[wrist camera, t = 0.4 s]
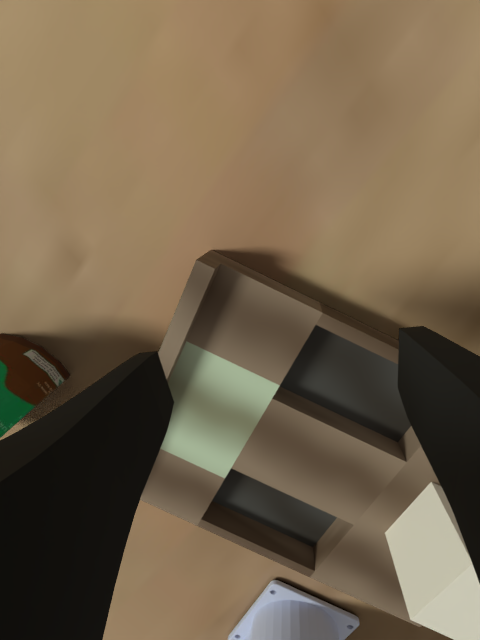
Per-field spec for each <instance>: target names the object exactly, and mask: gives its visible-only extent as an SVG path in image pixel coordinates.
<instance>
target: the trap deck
mask: <svg viewBox="0 0 480 640" xmlns="http://www.w3.org/2000/svg"><path fill="white" fill-rule="evenodd" d="M398 354H399V341H398V340H396V339H394V338H392V337H390V336H388V335H386V334H384V333H382V332H380V331H378V330H376V329H374V328H372V327H370V326H367V325H365V324H363V323H361V322H359V321H357V320H355V319H353V318H351V317H349V316H347V315H345V314H343V313H341V312H339V311H337V310H334V309H332V308H330V307H328V306H326V305H324V304H322V303H320V302H318V301H316V300H314V299H312V298H310V297H308V296H306V295H304V294H301V293H299V292H297V291H295V290H293V289H291V288H289V287H287V286H285V285H283V284H281V283H279V282H277V281H275V280H273V279H271V278H268V277H266V276H264V275H262V274H260V273H258V272H256V271H254V270H252V269H250V268H248V267H246V266H244V265H242V264H240V263H238V262H235V261H233V260H231V259H229V258H227V257H225V256H223V255H221V254H219V253H217V252H215V251H213V250H210V251H209V252H207V253H206V254H204V255H203V256H201V257H200V258H198V259H197V260H196V262H195V265H194V267H193V269H192V272H191V274H190V277H189V279H188V282H187V284H186V286H185V289H184V291H183V294H182V296H181V299H180V301H179V304H178V306H177V308H176V311H175V313H174V316H173V318H172V321H171V323H170V325H169V328H168V330H167V333H166V335H165V338H164V340H163V343H162V345H161V347H160V350H159V352H158V355H159V358H160V361H161V364H162V367H163V370H164V373H165V376H166V379H167V382H168V385H169V388H170V391H171V394H172V397H173V400H174V405H173V410H172V414H171V418H170V422H169V426H168V430H167V433H166V435H165V438H164V441H163V443H162V446H161V448H160V451H159V453H158V456H157V458H156V461H155V463H154V466H153V468H152V470H151V473H150V475H149V478H148V480H147V483H146V485H145V488H144V490H143V493H142V495H141V498H140V500H142V501H144V502H146V503H148V504H150V505H153V506H155V507H157V508H159V509H161V510H164V511H166V512H168V513H170V514H172V515H175V516H177V517H179V518H181V519H183V520H186V521H188V522H190V523H192V524H194V525H196V526H199V527H201V528H203V529H205V530H207V531H210V532H212V533H214V534H216V535H218V536H221V537H223V538H225V539H227V540H229V541H232V542H234V543H236V544H238V545H240V546H242V547H245V548H247V549H249V550H251V551H253V552H256V553H258V554H260V555H262V556H264V557H267V558H269V559H271V560H273V561H275V562H278V563H280V564H282V565H284V566H286V567H288V568H291V569H293V570H295V571H297V572H299V573H302V574H304V575H306V576H308V577H310V578H313V579H315V580H317V581H319V582H321V583H323V584H326V585H328V586H330V587H332V588H334V589H337V590H339V591H341V592H343V593H345V594H348V595H350V596H352V597H354V598H356V599H359V600H361V601H363V602H365V603H367V604H369V605H372V606H374V607H376V608H378V609H380V610H383V611H385V612H387V613H389V614H391V615H394V616H396V617H398V618H400V619H402V620H405V621H407V622H409V623H411V624H413V625H415V626H418V627H421V626H422V625H421V624H419V623H416V622H414V621H412V620H410V617H409V613H408V610H407V607H406V603H405V600H404V596H403V593H402V589H401V586H400V583H399V579H398V576H397V572H396V569H395V566H394V562H393V559H392V555H391V552H390V549H389V545H388V542H387V538H386V535H385V532H386V531H387V530H388V529H389V528H390V527H391V526H392V524H393V523H394V522H395V521H396V520H397V519H398V518H399V517H400V516H401V515H402V513H403V512H404V511H405V510H406V509H407V508H408V507H409V506H410V505H411V504H412V502H413V501H414V500H415V499H416V498H417V497H418V496H419V495H420V494H421V492H422V491H423V490H424V489H425V488H426V487H427V486H428V485H429V484H430V483H431V482H433V483H435V484H437V485H439V486H441V485H440V483H439V481H438V479H437V477H436V475H435V473H434V471H433V469H432V467H431V465H430V463H429V461H428V459H427V457H426V455H425V453H424V451H423V449H422V447H421V445H420V442H419V440H418V438H417V436H416V434H415V432H414V430H413V428H412V426H411V424H410V422H409V420H408V417H407V414H406V412H405V409H404V406H403V403H402V400H401V397H400V394H399V390H398Z"/></svg>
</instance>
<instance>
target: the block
mask: <svg viewBox="0 0 480 640" xmlns="http://www.w3.org/2000/svg"><path fill="white" fill-rule="evenodd" d="M385 535H386V538H387V542H388V545H389V549H390V552H391V555H392V559H393V562H394V566H395V569H396V572H397V576H398V579H399V583H400V586H401V589H402V593H403V596H404V600H405V603H406V607H407V610H408V613H409V617H410V620H412V621H414V622H416V623H419V624H421V625H423V626H425V627H427V628H429V629H432V630H434V631H436V632H438V633H440V634H443V635H445V636H447V637H449V638H451V639H454V640H480V583H479V581H478V578H477V575H476V572H475V570H474V567H473V564H472V561H471V558H470V556H469V553H468V550H467V548H466V545H465V542H464V540H463V537H462V534H461V532H460V529H459V526H458V524H457V521H456V519H455V516H454V513H453V511H452V509H451V506H450V504H449V502H448V500H447V497H446V495H445V493H444V491H443V489H442V487H441V486H439V485H437V484H435V483H433V482H431V483H430V484H429V485H428V486H427V487H426V488H425V489H424V490H423V491H422V492H421V494H420V495H419V496H418V497H417V498H416V499H415V500H414V501H413V502H412V504H411V505H410V506H409V507H408V508H407V509H406V510H405V511H404V512H403V513H402V515H401V516H400V517H399V518H398V519H397V520H396V521H395V522H394V523H393V524H392V526H391V527H390V528H389V529H388V530H387V531H386V532H385Z"/></svg>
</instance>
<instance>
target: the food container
mask: <svg viewBox="0 0 480 640" xmlns="http://www.w3.org/2000/svg"><path fill="white" fill-rule="evenodd" d="M69 376H71V375H70V374H69V373H68V371H67V370H66V369H65V367H64V366H63V365H62V364H61V362H60V361H58V360H57V359H56V358H55V357H54V356H53V355H51V354H50V353H49V352H48V351H47V350H45V349H44V348H43V347H41V346H39V345H37V344H35V343H33V342H31V341H29V340H27V339H25V338H23V337H18V336H13V335H8V334H0V437H2V436H3V435H4V434H5V433H6V432H7V431H8V430H10V429H11V428H12V427H13V426H14V425H15V424H16V423H17V422H19V421H20V420H21V419H22V418H23V417H24V416H25V415H26V414H28V413H29V412H30V411H31V410H32V409H33V408H34V407H35V406H37V405H38V404H39V403H40V402H41V401H42V400H43V399H45V398H46V397H47V396H48V395H49V394H50V393H51V392H52V391H54V390H55V389H56V388H57V387H58V386H59V385H60V384H61V383H63V382H64V381H65V380H66V379H67V378H68V377H69Z"/></svg>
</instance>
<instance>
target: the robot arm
mask: <svg viewBox="0 0 480 640" xmlns="http://www.w3.org/2000/svg"><path fill="white" fill-rule="evenodd" d="M398 390H399V394H400V397H401V400H402V403H403V406H404V409H405V412H406V414H407V417H408V420H409V422H410V424H411V426H412V428H413V430H414V432H415V434H416V436H417V438H418V440H419V442H420V445H421V447H422V449H423V451H424V453H425V455H426V457H427V459H428V461H429V463H430V465H431V467H432V469H433V471H434V473H435V475H436V477H437V479H438V481H439V483H440V485H441V487H442V489H443V491H444V493H445V495H446V497H447V500H448V502H449V504H450V506H451V509H452V511H453V513H454V516H455V519H456V521H457V524H458V526H459V529H460V532H461V534H462V537H463V540H464V542H465V545H466V548H467V550H468V553H469V556H470V558H471V561H472V564H473V567H474V570H475V572H476V575H477V578H478V581H479V583H480V356H478V355H476V354H474V353H472V352H470V351H468V350H467V349H465V348H463V347H461V346H459V345H457V344H456V343H454V342H452V341H450V340H448V339H447V338H445V337H443V336H441V335H439V334H438V333H436V332H434V331H432V330H430V329H428V328H426V327H424V326H419V327H409V328H399V354H398ZM173 405H174V400H173V397H172V394H171V391H170V388H169V385H168V382H167V379H166V376H165V373H164V370H163V367H162V364H161V361H160V358H159V355H158V352H146V353H139V354H137V355H135V356H133V357H132V358H130V359H129V360H127V361H125V362H124V363H122V364H121V365H120V366H118V367H117V368H115V369H114V370H112V371H111V372H110V373H108V374H107V375H105V376H104V377H102V378H101V379H100V380H98V381H97V382H95V383H94V384H93V385H91V386H90V387H88V388H87V389H85V390H84V391H82V392H81V393H79V394H78V395H76V396H75V397H73V398H72V399H70V400H69V401H67V402H66V403H64V404H63V405H61V406H60V407H58V408H57V409H55V410H54V411H52V412H50V413H49V414H47V415H46V416H44V417H42V418H41V419H39V420H37V421H35V422H34V423H32V424H30V425H28V426H27V427H25V428H23V429H21V430H19V431H18V432H16V433H14V434H12V435H10V436H8V437H7V438H4V439H2V440H0V640H102V639H103V634H104V630H105V626H106V621H107V617H108V613H109V608H110V604H111V600H112V596H113V591H114V587H115V583H116V579H117V576H118V572H119V568H120V564H121V561H122V557H123V553H124V549H125V546H126V542H127V539H128V535H129V532H130V528H131V525H132V522H133V518H134V515H135V512H136V509H137V506H138V503H139V501H140V498H141V495H142V493H143V490H144V488H145V485H146V483H147V480H148V478H149V475H150V473H151V470H152V468H153V466H154V463H155V461H156V458H157V456H158V453H159V451H160V448H161V446H162V443H163V441H164V438H165V435H166V433H167V430H168V426H169V422H170V418H171V414H172V410H173ZM358 626H359V618H358V617H357V616H355V615H353V614H351V613H349V612H347V611H344V610H342V609H340V608H338V607H336V606H333V605H331V604H329V603H327V602H325V601H322V600H320V599H318V598H316V597H314V596H311V595H309V594H307V593H305V592H303V591H300V590H298V589H296V588H294V587H292V586H289V585H287V584H285V583H283V582H281V581H278V580H272V581H271V582H270V583H269V585H268V586H267V587H266V588H265V590H264V591H263V592H262V594H261V595H260V596H259V597H258V599H257V600H256V601H255V603H254V604H253V605H252V606H251V608H250V609H249V610H248V612H247V613H246V614H245V615H244V617H243V618H242V619H241V620H240V622H239V623H238V624H237V626H236V627H235V628H234V629H233V631H232V632H231V633H230V635H229V636H228V640H345V639H346V638H347V637H348V636H349V635H350V634H351V633H352V632H353V631H354V630H355V629H356V628H357V627H358Z"/></svg>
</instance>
